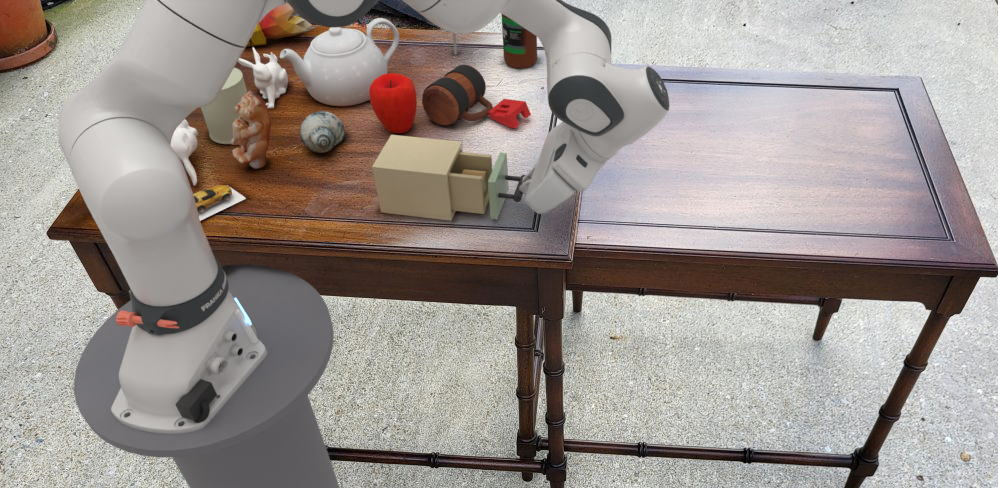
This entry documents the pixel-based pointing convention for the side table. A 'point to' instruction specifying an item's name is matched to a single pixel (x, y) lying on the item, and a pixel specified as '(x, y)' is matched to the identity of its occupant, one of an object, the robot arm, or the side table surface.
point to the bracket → (509, 112)
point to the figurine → (251, 130)
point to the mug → (456, 96)
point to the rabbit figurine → (268, 77)
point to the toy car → (215, 200)
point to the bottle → (518, 44)
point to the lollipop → (455, 44)
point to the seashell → (321, 131)
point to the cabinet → (415, 176)
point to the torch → (279, 25)
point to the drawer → (481, 184)
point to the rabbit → (185, 146)
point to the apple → (394, 101)
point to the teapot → (342, 64)
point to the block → (478, 173)
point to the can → (225, 108)
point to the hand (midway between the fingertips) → (523, 186)
